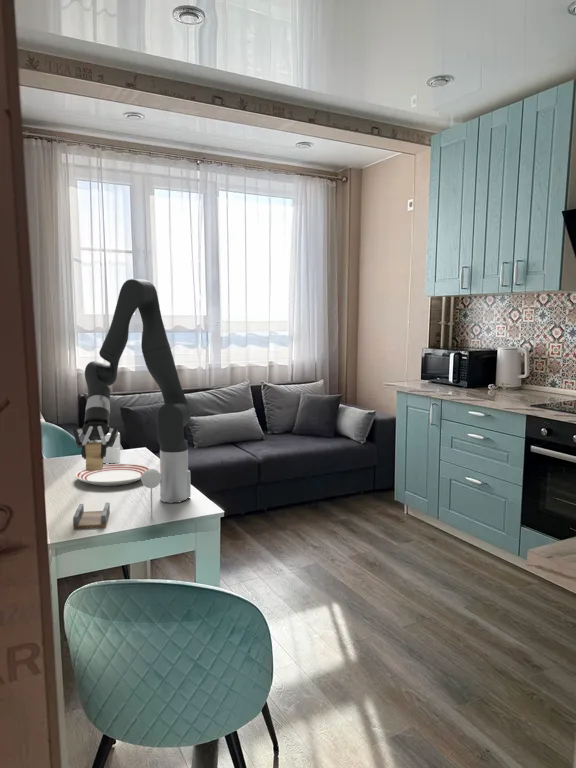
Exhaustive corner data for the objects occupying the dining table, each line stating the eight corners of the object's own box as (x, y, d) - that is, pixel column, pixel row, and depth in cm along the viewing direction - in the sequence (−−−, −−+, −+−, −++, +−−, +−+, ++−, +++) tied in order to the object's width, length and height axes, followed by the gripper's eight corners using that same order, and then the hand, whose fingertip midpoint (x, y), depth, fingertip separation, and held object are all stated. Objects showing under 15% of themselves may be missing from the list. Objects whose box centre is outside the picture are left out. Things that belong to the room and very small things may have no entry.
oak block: (88, 467, 175) (87, 442, 174) (103, 467, 176) (102, 442, 175) (86, 470, 171) (85, 445, 170) (101, 470, 172) (100, 444, 171)
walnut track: (79, 515, 172) (79, 504, 171) (109, 513, 173) (109, 502, 173) (73, 529, 160) (73, 517, 160) (105, 527, 162) (105, 515, 161)
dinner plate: (74, 473, 218) (74, 465, 217) (145, 467, 228) (145, 459, 228) (76, 494, 193) (76, 484, 192) (156, 486, 203) (156, 477, 203)
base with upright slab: (116, 457, 242) (115, 430, 241) (123, 462, 235) (122, 434, 234) (95, 460, 237) (94, 433, 236) (101, 465, 230) (101, 436, 229)
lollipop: (141, 520, 168) (140, 472, 166) (141, 514, 173) (140, 467, 172) (162, 519, 170) (162, 471, 168) (161, 512, 175) (161, 466, 173)
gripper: (72, 406, 177) (67, 452, 167) (119, 405, 180) (116, 450, 169) (76, 419, 183) (70, 464, 172) (121, 418, 186) (118, 463, 175)
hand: (93, 457), depth 171 cm, fingers closed on oak block, 4 cm apart
